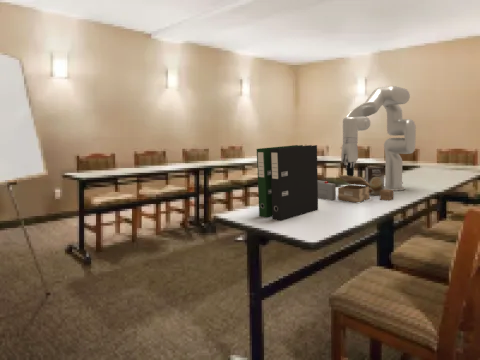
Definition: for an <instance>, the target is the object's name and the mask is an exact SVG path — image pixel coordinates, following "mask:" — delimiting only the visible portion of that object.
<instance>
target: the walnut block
mask: <svg viewBox="0 0 480 360" xmlns="http://www.w3.org/2000/svg"><path fill="white" fill-rule="evenodd" d="M379 198H380V201H387V200H388V202H389V201H392V200H394V191H393V190H386V189H384V190H381V191H380V195H379Z"/></svg>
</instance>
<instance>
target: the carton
mask: <svg viewBox="0 0 480 360" xmlns="http://www.w3.org/2000/svg"><path fill="white" fill-rule="evenodd" d="M337 192H338V193H337V195H338V196H337V200H338V201H340V202H347V201H349V202H348V203H356V202H360V203H362V202H361V201H363V202H365V201H367V200H370V196H369V186H365V185H353V184H347V185H343V186H340V187H338V188H337ZM364 200H365V201H364Z"/></svg>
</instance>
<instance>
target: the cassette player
mask: <svg viewBox="0 0 480 360" xmlns="http://www.w3.org/2000/svg"><path fill="white" fill-rule="evenodd" d="M336 186H337V185H336V183H331V182H329V181H327V180H318V199H323V200H327V201H328V200H329V201H335V200H337V198H336V196H337V195H336V193H337V190H336V189H337V188H336Z"/></svg>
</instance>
